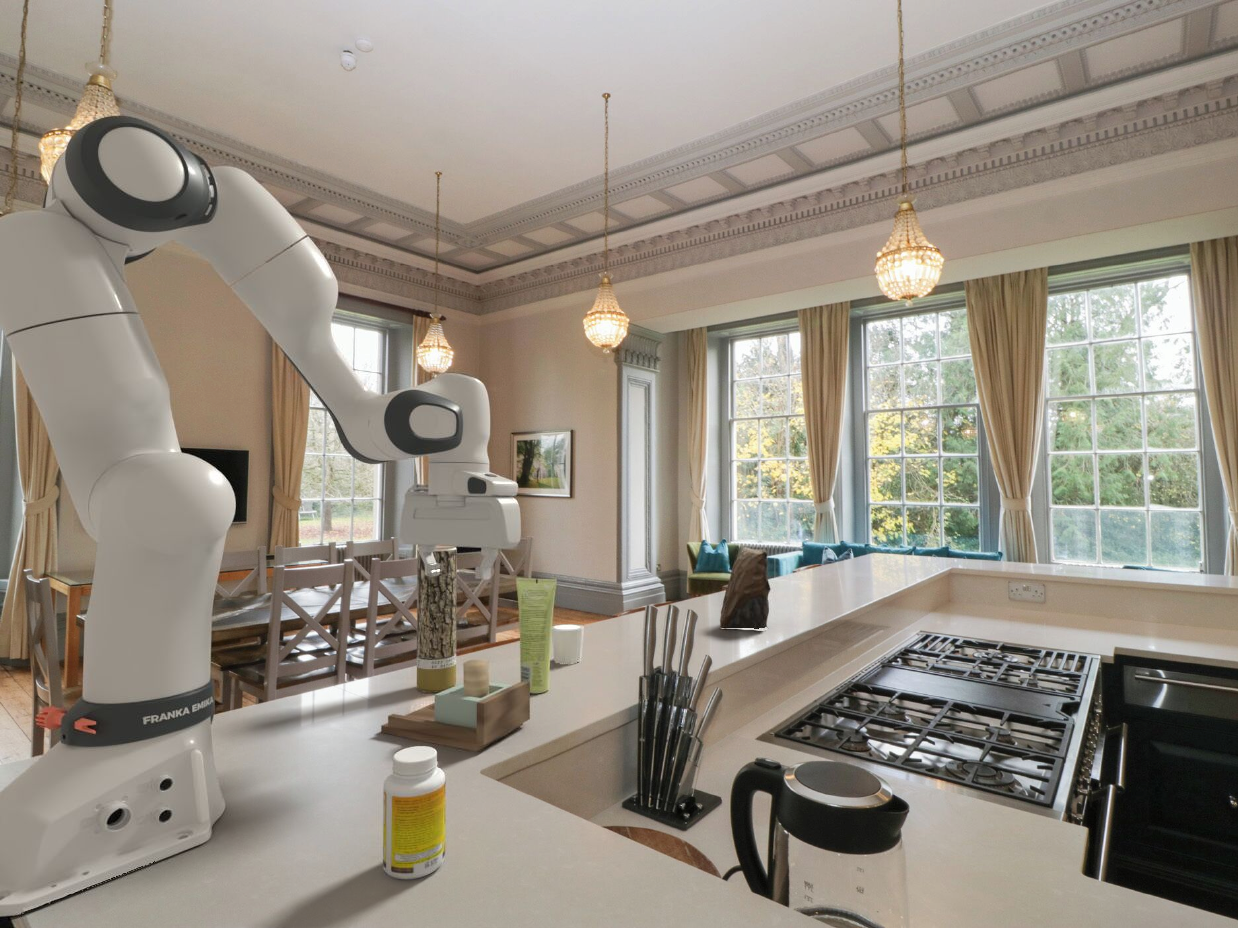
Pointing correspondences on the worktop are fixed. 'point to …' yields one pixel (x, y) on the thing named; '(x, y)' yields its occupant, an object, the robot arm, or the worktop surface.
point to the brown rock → (747, 592)
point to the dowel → (476, 678)
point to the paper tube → (437, 622)
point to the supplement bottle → (414, 814)
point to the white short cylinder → (567, 643)
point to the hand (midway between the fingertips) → (457, 577)
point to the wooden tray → (492, 723)
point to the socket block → (461, 705)
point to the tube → (535, 630)
